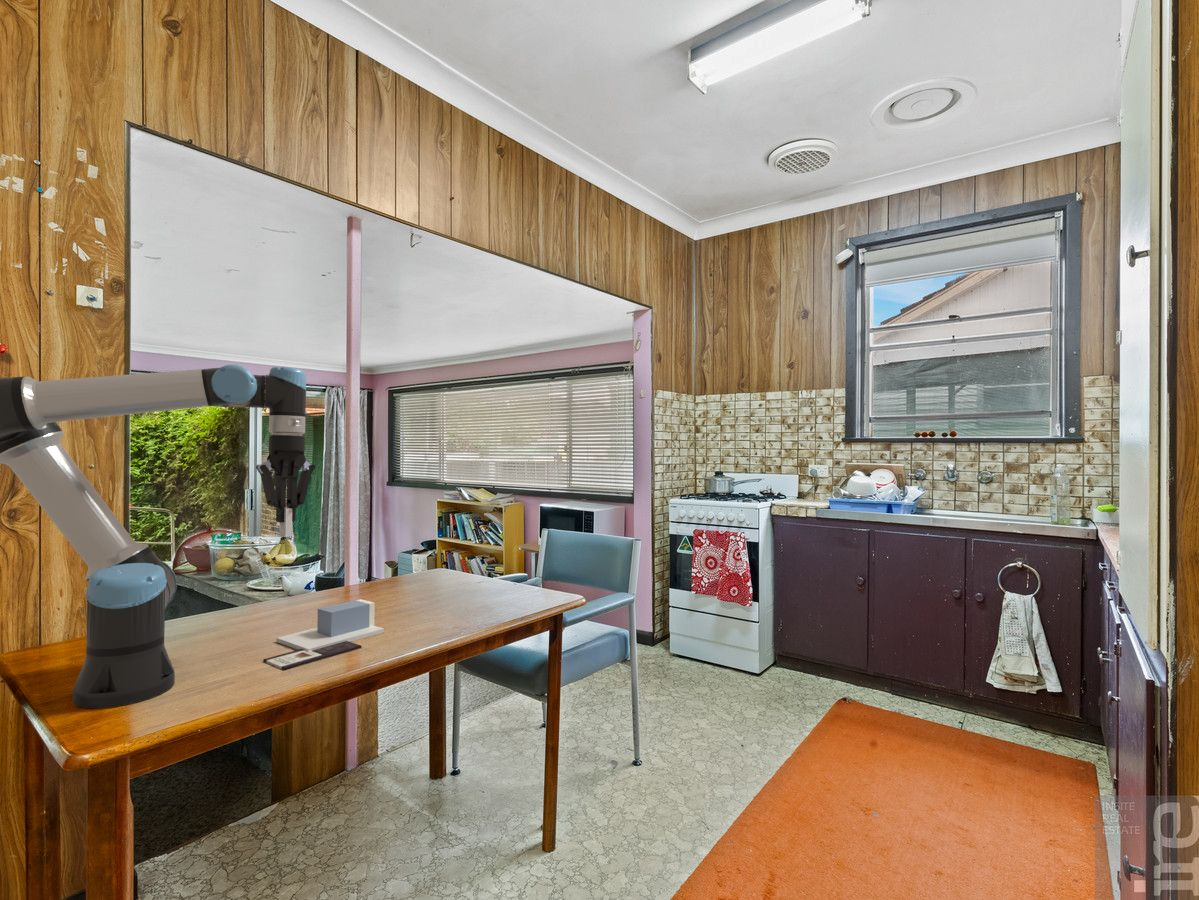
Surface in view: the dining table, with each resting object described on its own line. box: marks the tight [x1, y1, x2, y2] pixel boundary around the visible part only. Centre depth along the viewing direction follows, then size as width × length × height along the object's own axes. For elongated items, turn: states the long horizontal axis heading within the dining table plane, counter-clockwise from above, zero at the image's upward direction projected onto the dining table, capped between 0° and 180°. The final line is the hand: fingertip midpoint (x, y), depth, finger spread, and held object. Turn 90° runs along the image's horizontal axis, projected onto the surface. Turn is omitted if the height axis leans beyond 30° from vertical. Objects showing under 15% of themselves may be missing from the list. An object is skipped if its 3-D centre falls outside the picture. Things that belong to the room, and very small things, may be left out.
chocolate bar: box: [263, 641, 362, 671], centre depth 135 cm, size 9×1×18 cm
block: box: [316, 598, 376, 637], centre depth 151 cm, size 6×6×12 cm
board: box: [275, 625, 385, 652], centre depth 148 cm, size 20×14×1 cm
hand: (285, 536), depth 138 cm, fingers closed
